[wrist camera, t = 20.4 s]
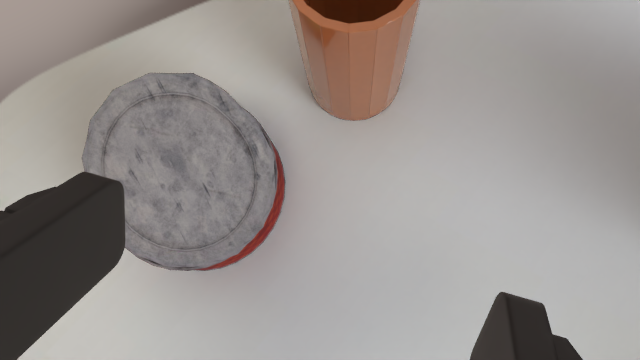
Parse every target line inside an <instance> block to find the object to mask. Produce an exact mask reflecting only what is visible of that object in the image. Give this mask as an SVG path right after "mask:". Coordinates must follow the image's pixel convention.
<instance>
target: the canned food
mask: <svg viewBox="0 0 640 360" xmlns="http://www.w3.org/2000/svg"><path fill="white" fill-rule="evenodd" d="M82 160H83V166H84V171H85V172H89V173H93V174H96V175H100V176H103V177H107V178H110V179H114V180H117V181H119V182H121V183H122V185H123V188H124V200H125V238H126V239H125V248H126V249H128V250H129V251H130V252H131V253H133V254H134V255H135V256H136V257H138V258H139V259H141V260H143V261H145V262H147V263H149V264H151V265H153V266H157V267H161V268H165V269H169V270H186V271H189V270H200V271H206V270H212V269H218V268H223V267H225V266H228V265H231V264H233V263H236V262H238V261H240V260H241V259H243V258H244V257H246V256H248V255H249V254H251V253H252V252H253V251H254V250H255V249H256V248H257V247H258V246H260V245H261V244H262V243H263V242H264V240H265V239H266V238H267V236H268V235H269V234H270V232H271V231H272V229H273V228H274V226H275V224H276V222H277V219H278V217H279V215H280V213H281V209H282V205H283V201H284V194H285V177H284V170H283V165H282V162H281V160H280V157H279V154H278V151H277V150H276V148H275V147H274V145H273V143H272V142H271V140H270V138H269V137H268V136H267V134H266V132H265V131H264V129H263V127H262V126H261V124H260V123H259V122H258V121H257V120H256V119H255V118H254V117H253V116H252V115H251V114H250V113H249V112H248V111H246V110H245V109H244V108H242V107H241V106H240V105H239V104H238V103H237V102H236V101H235V100H234V99H233V98H232V97H231V96H230V95H229V94H228V93H227V92H226V91H225V90H223V89H222V88H220V87H219V86H217V85H216V84H214V83H213V82H211V81H209V80H207V79H205V78H202V77H200V76H198V75H196V74H194V73H148V74H146V75H144V76H142V77H139V78H137V79H135V80H133V81H131V82H129V83H126V84H124V85H122V86H120V87H118V88H116V89H114V90H112V92H111V93H110V95H109V96H108V97H107V99H106V100H105V102H104V103H103V104H102V106H101V107H100V108H99V110H98V111H97V112H96V113H95V115H94V116H93V117H92V119H91V120H90V124H89V129H88V135H87V140H86V144H85V148H84V152H83V156H82Z"/></svg>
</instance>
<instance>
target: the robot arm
mask: <svg viewBox="0 0 640 360" xmlns="http://www.w3.org/2000/svg"><path fill="white" fill-rule="evenodd" d="M125 239H126V238H125V200H124V188H123V185H122V183H121V182H119V181H117V180H114V179H110V178H107V177H103V176H100V175H96V174H93V173H89V172H82V173H80V174H78V175H76V176H74V177H73V178H71V179H69V180H68V181H66V182H64V183H63V184H61V185H59V186H58V187H53V188H50V189H46V190H43V191H40V192H36V193H33V194H30V195H27V196H25V197H24V198H22V199H20V200H18V201H17V202H15V203H13V204H11V205H10V206H8V207H6V208H5V211H0V360H17V359H18V358H19V357H20V356H21V355H22V354H23V353H24V352H25V351H26V350H27V349H28V348H29V347H30V346H31V345H32V344H34V343H35V342H36V341H37V340H38V339H39V338H40V337H41V336H42V335H43V334H44V333H45V332H46V331H47V330H48V329H49V328H51V327H52V326H53V325H54V324H55V323H56V322H57V321H58V320H59V319H60V318H61V317H62V316H63V315H64V314H65V313H66V312H67V311H69V310H70V309H71V308H72V307H73V306H74V305H75V304H76V303H77V302H78V301H79V300H80V299H81V298H82V297H83V296H84V295H86V294H87V293H88V292H89V291H90V290H91V289H92V288H93V287H94V286H95V285H96V284H97V283H98V282H99V281H100V280H101V279H103V278H104V277H105V276H106V275H107V274H108V273H109V272H110V271H111V270H112V269H113V268H114V267H115V266H116V265H117V263H118V262H119V260H120V258H121V256H122V254H123V251H124V247H125ZM470 360H583V359H582V358H581V357H580V355H579V354H578V353H577V351H576V350H575V349H574V347H573V346H572V345H571V344H570V342H569V341H568V340H567V339H566V338H563V337H560V336H556V335H553V334H552V332H551V328H550V325H549V321H548V317H547V313H546V310H545V307H544V305H543V304H542V303H539V302H536V301H532V300H529V299H525V298H522V297H519V296H515V295H512V294H508V293H505V292H500V293H499V294H498V295H497V297H496V299H495V301H494V303H493V305H492V307H491V310H490V312H489V314H488V316H487V319H486V321H485V323H484V325H483V328H482V330H481V332H480V334H479V337H478V339H477V341H476V343H475V346H474V348H473V351H472V354H471V357H470Z"/></svg>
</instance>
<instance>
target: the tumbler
mask: <svg viewBox="0 0 640 360" xmlns="http://www.w3.org/2000/svg"><path fill="white" fill-rule="evenodd" d="M288 1H289V5H290V9H291V13H292V18H293V22H294V26H295V30H296V34H297V38H298V42H299V46H300V51H301V55H302V59H303V63H304V67H305V71H306V75H307V79H308V84H309V87H310V89H311V92H312V94H313V96H314V98H315V100H316V102H317V103H318V104H319V105H320V106H321V108H323V109H324V110H325V111H326V112H328V113H329V114H331V115H333V116H335V117H337V118H340V119H344V120H353V121H354V120H364V119H368V118H371V117H373V116H375V115H377V114H379V113H380V112H382V111H383V110H384V109H386V108H387V107H388V106H389V105H390V104H391V102H392V101H393V99H394V98H395V96H396V94H397V91H398V89H399V84H400V81H401V78H402V74H403V70H404V65H405V61H406V57H407V53H408V49H409V45H410V41H411V37H412V33H413V29H414V25H415V21H416V16H417V12H418V8H419V4H420V0H288Z"/></svg>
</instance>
